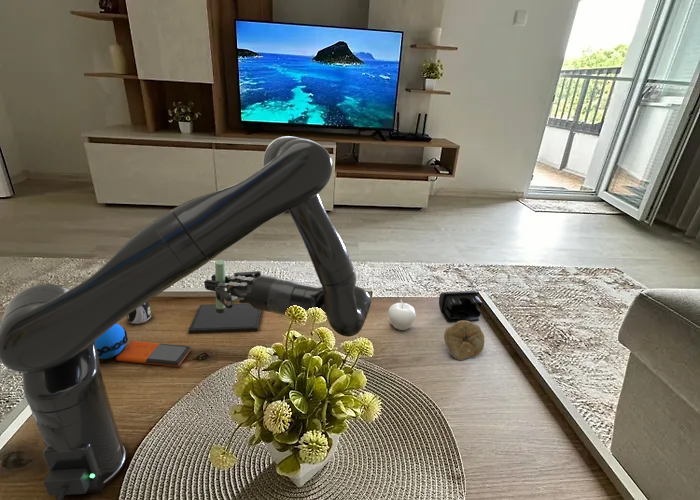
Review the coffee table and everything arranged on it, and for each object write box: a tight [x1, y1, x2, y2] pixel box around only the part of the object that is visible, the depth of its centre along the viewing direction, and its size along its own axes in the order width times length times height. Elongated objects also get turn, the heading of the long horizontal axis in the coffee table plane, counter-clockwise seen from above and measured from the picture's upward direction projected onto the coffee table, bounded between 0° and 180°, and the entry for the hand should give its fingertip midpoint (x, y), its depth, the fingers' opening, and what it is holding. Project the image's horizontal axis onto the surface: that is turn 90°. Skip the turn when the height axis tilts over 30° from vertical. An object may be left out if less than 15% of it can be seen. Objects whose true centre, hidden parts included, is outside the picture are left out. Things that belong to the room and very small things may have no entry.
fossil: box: [443, 321, 486, 361], centre depth 97 cm, size 9×4×10 cm
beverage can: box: [125, 300, 152, 325], centre depth 103 cm, size 6×6×12 cm
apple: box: [388, 299, 417, 331], centre depth 104 cm, size 7×7×8 cm
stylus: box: [214, 259, 226, 313], centre depth 89 cm, size 2×2×13 cm
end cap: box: [438, 290, 483, 324], centre depth 110 cm, size 10×7×7 cm
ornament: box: [95, 322, 129, 360], centre depth 90 cm, size 9×9×10 cm
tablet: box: [188, 303, 263, 334], centre depth 106 cm, size 12×17×1 cm
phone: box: [115, 340, 192, 368], centre depth 92 cm, size 6×1×15 cm
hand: (209, 281), depth 90 cm, fingers closed on stylus, 2 cm apart
